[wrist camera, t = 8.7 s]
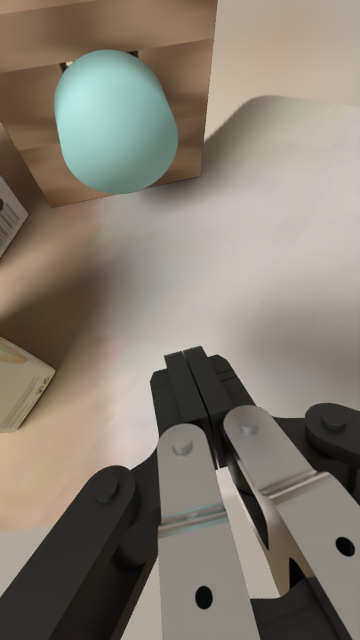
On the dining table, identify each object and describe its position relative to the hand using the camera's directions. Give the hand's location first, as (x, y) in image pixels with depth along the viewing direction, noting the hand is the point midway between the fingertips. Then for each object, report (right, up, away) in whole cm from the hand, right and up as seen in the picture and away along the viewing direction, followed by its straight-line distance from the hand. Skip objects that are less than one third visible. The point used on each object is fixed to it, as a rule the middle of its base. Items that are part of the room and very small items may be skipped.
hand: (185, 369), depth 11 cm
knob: (-5, +16, +9) cm, 19 cm away
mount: (-5, +15, +13) cm, 21 cm away
